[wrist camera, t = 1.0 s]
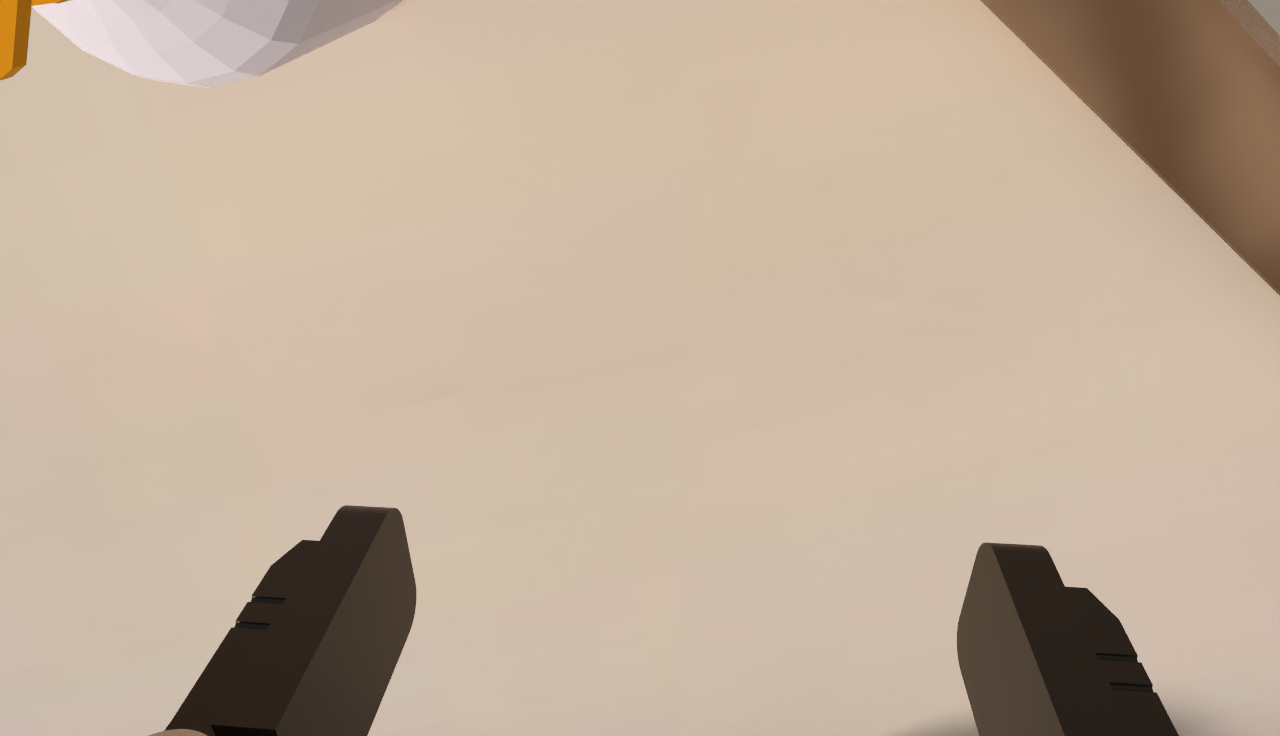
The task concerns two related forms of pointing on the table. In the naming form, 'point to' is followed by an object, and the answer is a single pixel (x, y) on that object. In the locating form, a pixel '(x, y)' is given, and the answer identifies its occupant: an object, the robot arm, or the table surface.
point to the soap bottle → (188, 34)
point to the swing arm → (1259, 22)
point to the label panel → (1176, 102)
